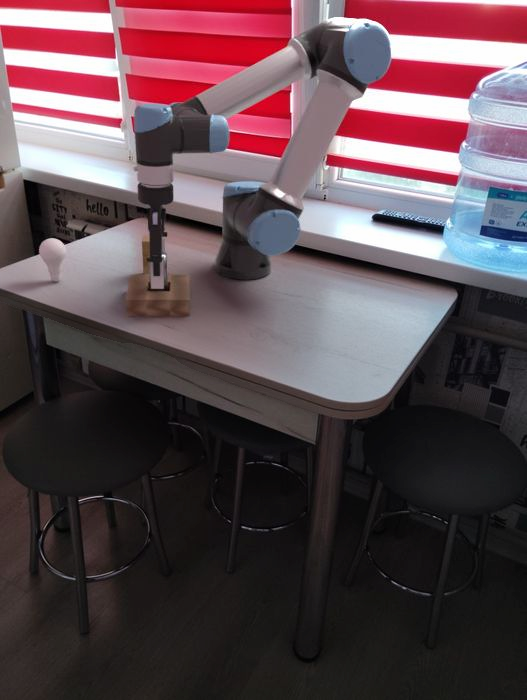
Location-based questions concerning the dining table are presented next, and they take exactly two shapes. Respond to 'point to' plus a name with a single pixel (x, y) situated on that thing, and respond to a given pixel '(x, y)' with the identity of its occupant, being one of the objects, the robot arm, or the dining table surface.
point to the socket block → (158, 297)
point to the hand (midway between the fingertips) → (158, 275)
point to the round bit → (164, 256)
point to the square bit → (145, 253)
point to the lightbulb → (53, 257)
